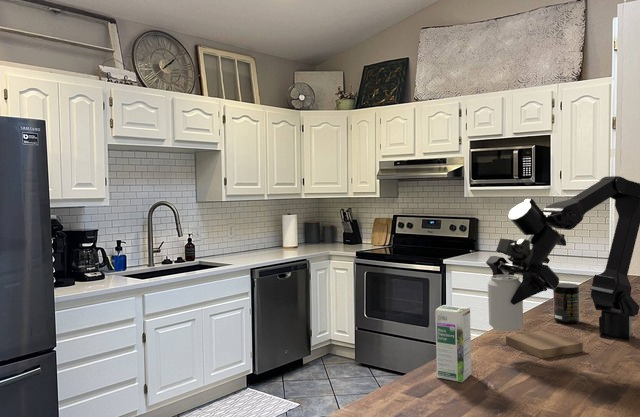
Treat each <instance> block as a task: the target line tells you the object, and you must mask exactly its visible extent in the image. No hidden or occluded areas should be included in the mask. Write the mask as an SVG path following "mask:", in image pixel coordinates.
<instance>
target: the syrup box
mask: <svg viewBox="0 0 640 417" xmlns="http://www.w3.org/2000/svg"><path fill="white" fill-rule="evenodd" d="M434 311H435V314H434V315H435V316H434V320H435V345H436V346H435V347H436V349H435V351H436V352H435V353H436V378H437V379H444V380H447V381H453V382H459V383H463V382H464V381H466V380H467V379H468V377H470V376H471V374H472V346H471V345H472V343H471V342H472V340H471V339H472V338H471V335H472V334H471V306H468V307H467V306H459V305H457V306H456V305H450V304H443V305H441V306H439V307H437V308H436V309H435V310H434Z"/></svg>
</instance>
